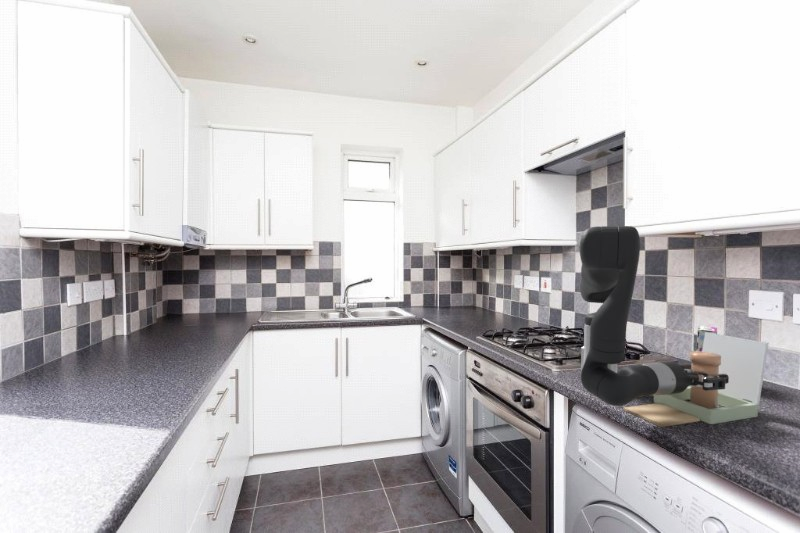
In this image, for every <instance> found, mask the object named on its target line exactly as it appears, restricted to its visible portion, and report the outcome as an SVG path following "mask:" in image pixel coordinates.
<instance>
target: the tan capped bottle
mask: <svg viewBox="0 0 800 533" xmlns="http://www.w3.org/2000/svg"><path fill="white" fill-rule="evenodd" d="M689 361H690V362H691V364H690V365H691V370H692V371H702V372H705V373H707V374H712V375H717V374H719V365H721V355H718V354H714V353H709V352H702V351H697V350H692V351H691V350H690V351H689ZM698 375H699V374H698ZM708 378H710V377H708ZM699 380H702V375H699ZM689 402H691V403H693V404H696V405H699V406H702V407H704V408H707V409H715V408H718V404H717V403H718V390H709V391H706V390H703V387H699V386H693V387H691V392H690V399H689Z"/></svg>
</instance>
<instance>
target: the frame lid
mask: <svg viewBox="0 0 800 533" xmlns="http://www.w3.org/2000/svg"><path fill="white" fill-rule="evenodd" d="M768 349H769V343H768V342H766V341H759V340H753V339H747V338H742V337H735V336H730V335H725V334H720V333H719V334H718V333H717V334H715V333H709V332H705V337H704V343H703V349H702V352H709V353H714V354H718V355H721V365H719V374H727V375H728V377H729V383H727V384H725V389H720V390H718V392H719V393H723V394H726V395H729V396H732V397H735V398H739V399H742V400H744V401H747V402H751V403H755V404H758V405H760V401H761V394H762V388H763V381H764V374H765V369H766V364H767V355H768Z"/></svg>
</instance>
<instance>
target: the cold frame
mask: <svg viewBox="0 0 800 533" xmlns="http://www.w3.org/2000/svg"><path fill="white" fill-rule="evenodd" d="M690 392H691V387H689V386H688V387H687V388H686V389H685V390H684V391H683V392H681V393H675V394H667V395H658V396H654V395H653V403H661V404H664V405H666V406H669V407H672V408H674V409H677V410H679V411H682V412H685V413H687V414H690V415H692V416H695V417H697V418H700V421H701V422H704V423H706V424H708V425H714V424H721V423H727V422H734V421H738V420H745V419H751V418H757V417H758V412H759V404H755V403H751V402H747V401H744V400H742V399H739V398H735V397H732V396H729V395H726V394H723V393H719V392H718V403H717V406H718V405H719V406H721V407H717V408H715V409H707V408H704V407H702V406H699V405H696V404H693V403H691V402H690V401H688V400H690Z"/></svg>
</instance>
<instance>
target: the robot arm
mask: <svg viewBox="0 0 800 533" xmlns="http://www.w3.org/2000/svg"><path fill="white" fill-rule="evenodd" d="M640 252H641V239H640V234H639V231H638V229H637V228H636V227H635V226H630V225H629V226H628V225H627V226H626V225H618V226H617V225H616V226H615V225H612V226H610V225H608V226H598V225H597V226H591V227H589V228H586V229H585V230H584V231H583V232H582V235H581V237H580V240H579V256H580V257H579V258H580V261H581V268H580V273H581V280H580V286H579V287H580V288H579V290H580V295H581V298H582V299H583V300H584V302H587V303H593V304H600V307H598V309H597V310H596V311H595V312H591V313H588V314H586V315H585V316H584V328H583V330H584V331H583V332H584V333H583V334H584V335H583V337H584V338H583V346H581V348H580V349H581V354H580V356H581V357H580V380H581V381H580V382H581V384H582V386H583V388H584V389H585V390H586V391H587V392H588V393H590V394H592V396H595V397H597V398H598V399H599V400H601V401H602V402H604V403H605V404H607V405H611V406H613V407H620V406H621V407H622V406H625V405H627V404H629V403H631V402H632V401H634V400H636V399H638V398H639V397H649V396H653V397H654V396H658V395H667V394H675V393H681V392H683V391H684V390H685V389H686V388H687V387H693V386H699V387H703V390H706V391H709V390H720V389H725V384H727V383H729V377H728V375H727V374H717V375H712V374H707V373H705V372H702V371H692V370H691V364H690V363H689V364H688V363H687V364H679V363H677V362H674V361H658V362H647V363H646V362H645V363H643V364H637V365H627V366H624V367H622V368H620V369H619V370H618V364H620V363H622V362H623V361H624V359H625V356H626V355H625V354H626V344H627V343H626V342H627V341H626V340H627V327H628V326H627V325H628V318H629V312H630V308H631V303H632V298H633V295H634V289H635V284H636V278H637V272H638V267H639V263H640V262H639V260H640ZM698 374H699V375H702V380H699V375H698ZM708 377H710V378H708Z"/></svg>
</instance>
